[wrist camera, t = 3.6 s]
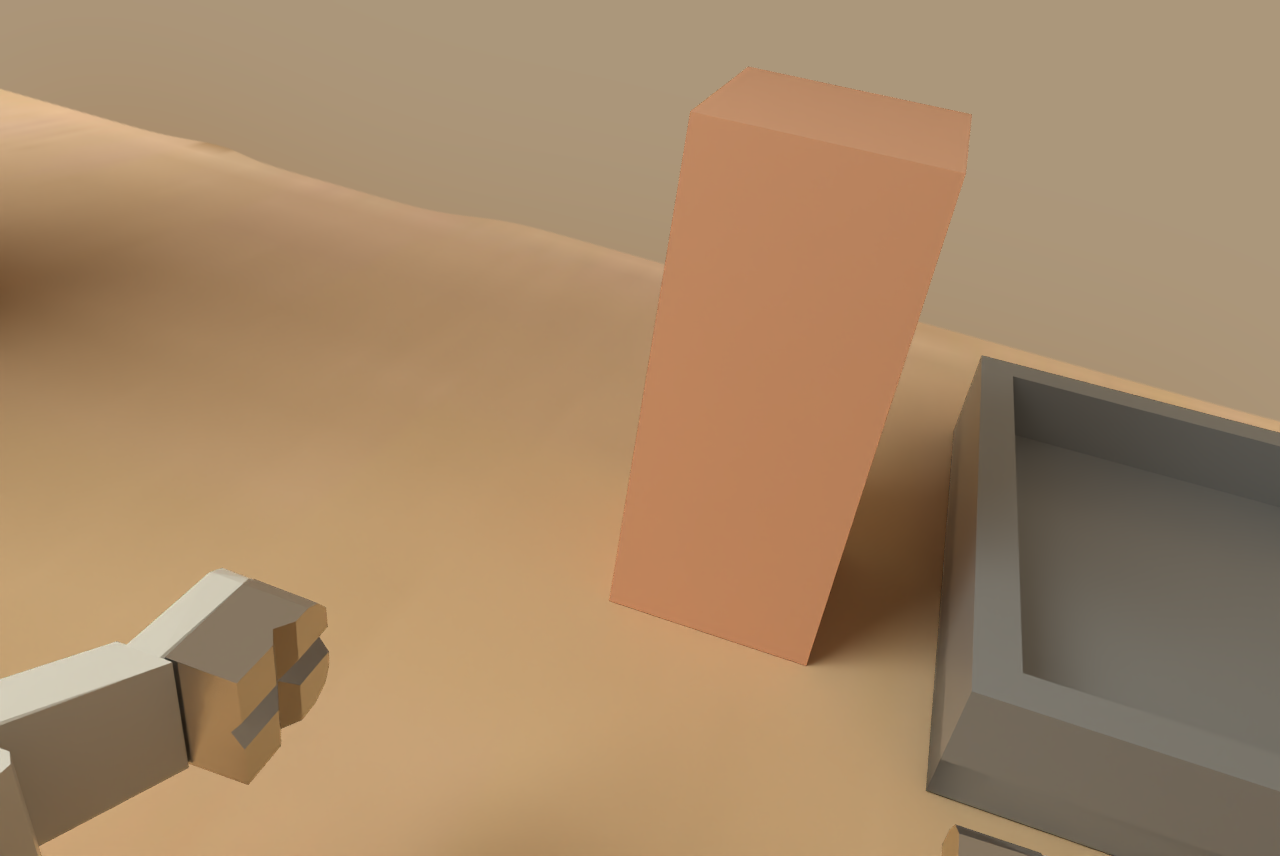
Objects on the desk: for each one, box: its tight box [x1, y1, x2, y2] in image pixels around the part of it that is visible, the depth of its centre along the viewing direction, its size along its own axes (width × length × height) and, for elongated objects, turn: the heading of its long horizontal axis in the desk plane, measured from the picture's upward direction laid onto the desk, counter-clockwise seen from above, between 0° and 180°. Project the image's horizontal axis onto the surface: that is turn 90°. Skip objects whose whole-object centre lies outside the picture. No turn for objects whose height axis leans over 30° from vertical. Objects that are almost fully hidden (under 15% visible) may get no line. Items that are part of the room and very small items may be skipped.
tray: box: [926, 356, 1280, 856], centre depth 25 cm, size 13×16×3 cm
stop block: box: [609, 67, 972, 666], centre depth 23 cm, size 5×5×12 cm
